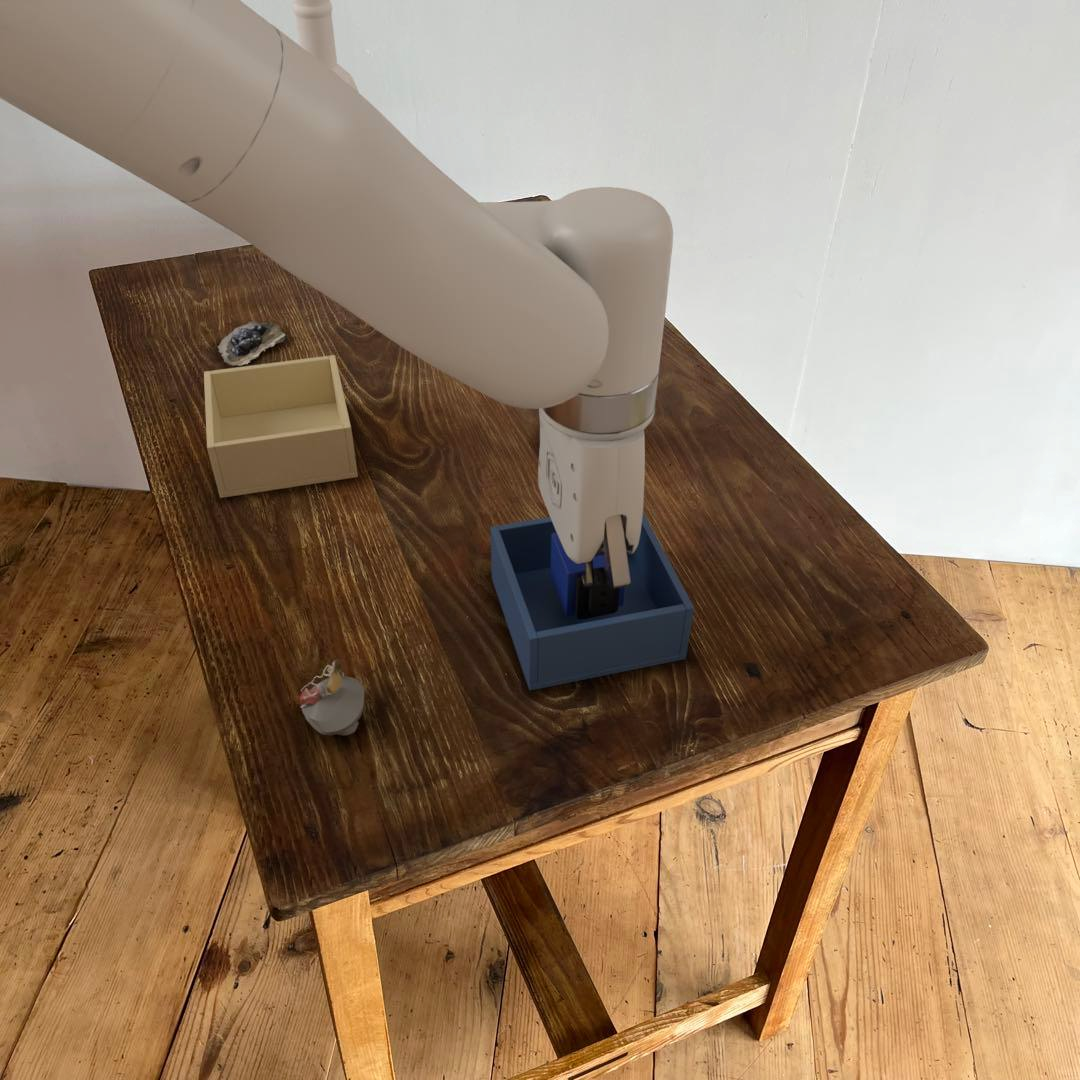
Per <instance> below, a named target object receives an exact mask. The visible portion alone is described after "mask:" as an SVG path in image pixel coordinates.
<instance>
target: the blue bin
mask: <svg viewBox="0 0 1080 1080" xmlns="http://www.w3.org/2000/svg"><path fill="white" fill-rule="evenodd" d="M489 530H490V561H491V563H490V564H491V567H490V568H491V580H492V583H493V586H494V589H495V592H496V596H497V598H498V601H499V604H500V606H501V607H500V608H501V610H502V613H503V615H504V619H505V622H506V625H507V628H508V630H509V634H510V637H511V641H512V643H513V646H514V648H515V649H514V650H515V651H516V655H517V657H518V661H519V664H520V666H521V670H522V673H523V676H524V678H525V681H526V684H527V687H528V688H527V689H528V690H529V691H535V690H540V689H546V688H549V687H550V688H551V687H555V686H560V685H565V684H569V683H574V682H579V681H585V680H588V679H595V678H599V677H604V676H610V675H613V674H619V673H625V672H628V671H629V672H630V671H635V670H638V669H644V668H648V667H654V666H660V665H664V664H669V663H673V662H678V661H683V660H686V659H687V653H688V648H689V642H690V635H691V628H692V623H693V618H694V617H693V616H694V610H695V606H694V604H693V603H692V601H691V599H690V597H689V596H688V593H687V591H686V590H685V587H684V586H683V584H682V582H681V580H680V579H679V577H678V574H677V573H676V571H675V568H674V567H673V565H672V564H671V561H670V559H669V557H668V556H667V554H666V552H665V550H664V548H663V546H662V544H661V543H660V541H659V539H658V536H657V535H656V532H655V531H654V529H653V527H652V526H651V524H650V522H649V520H648V518H647V516H646V514H645V512H644V511H643V516H642V526H641V533H640V539H639V543H638V546H637V548H636V550H635V551H634V553H633V554H629V553H628V552H627V559H628V566H629V574H630V586H626V587H625V591H624V602H623V606H620V607H618V610H617V612H615V613H613V614H608V615H602V616H597V617H592V618H586V619H578V618H577V616H576V615H572V616H566V615H565V612H564V610H563V607H562V605H561V602H560V599H559V597H558V594H557V592H556V589H555V587H554V584H553V582H552V579H551V577H550V570H551V535H552V533H557V532H556V530H555V527H554V525H553V523H552V520H551V518H550V516H548V517H542V518H541V517H540V518H535V519H530V520H523V521H519V522H512V523H511V522H510V523H506V524H500V525H494V526H490V529H489Z"/></svg>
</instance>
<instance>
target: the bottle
mask: <svg viewBox="0 0 1080 1080" xmlns="http://www.w3.org/2000/svg"><path fill="white" fill-rule="evenodd" d="M292 10H293V13H294V15H295V21H296V28H297V35H298V42H299V44H298V45H299V46H301V47H302V48H303V49H305V50H306V51H307V52H309V53H310V54H311V55H313V56H314V57H315V58H317V59H318V60H320V61H321V62H322V63H323V64H325V65H326V66H327V67H329V68H330V69H331V70H332V71H334V72H335V73H336V74H337V75H338V76H339V77H341V78H342V79H343V80H344V81H345V82H346V83H348V84H349V85H350V86H351V87H352V88H353V89H354V90H356V91H357V92H358V93H359V94H360V92H359V89H358V86H357V85H356V82H355V80H354V78H353V76H352V75H351V73H349V72H348V71H347V70H346V69H345V68H343V67H342V66H341V65H340V64H339V63H338V58H337V57H338V56H337V49H336V42H335V41H336V40H335V32H334V23H333V15H332V12H333V4H332V2H331V1H330V0H293V5H292Z"/></svg>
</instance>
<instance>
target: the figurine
mask: <svg viewBox="0 0 1080 1080" xmlns="http://www.w3.org/2000/svg"><path fill="white" fill-rule="evenodd" d="M341 663H342V664H343V662H342V661H341V660H340V659H338V658H337V659H333V662H332V664H331V665H330V664H327V665H325V667H324V669H323V672H322V674H321V676H319V675H315V676H314V677H313V679H312V680H311V681H310V682H308V683H307V684H306V685H304V686H303V687H302V688H301V690H300V692H301V694H300V696H299V703H300V704H301V706H300V708H301V711H302V714H303V716H304V718H305V720H306V721H307V723H309V725H310V726H311V727H312V728H313V729H314V730H316V731H317V732H318V733H319V734H320V735H323V736H336V735H338V736H349V735H352V734H353V733H355V732H356V731H357V729H358V727H359V724H360V722H359V720H360V718H361V717H362V714H363V712H364V704H365V690H364V687H363V685H362V683H361V682H359V680H358V679H356V678H355V677H352V676H347V675H345V674H344V672H342V671H343V666H342V664H341ZM326 671H327V672H328V673H326ZM323 677H328V678H325V679H323V680H321V681H319V682H318V683H315V679H316V678H319V679H321V678H323ZM309 685H313V686H312V688H311V689H308V686H309Z"/></svg>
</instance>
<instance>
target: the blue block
mask: <svg viewBox="0 0 1080 1080" xmlns="http://www.w3.org/2000/svg"><path fill="white" fill-rule="evenodd" d="M605 566H606V560H605V555H599V556H594V558H593V569H594V568H599V567H605ZM580 576H582V571H581V564H577V563H575V562H574V561H572V560H571V559H570V558H569V557H568V556H567V554H566V552H565V550H564V548H563V546H562V543H561V541H560V539H559V537H558V534H557V533H552V535H551V570H550V577H551V579H552V582H553V584H554V587H555V589H556V592H557V594H558V597H559V599H560V602H561V605H562V607H563V610H564V612H565V615H566V616H572V615H576V614H575V601H576V582H577V577H580ZM624 591H625V587H620V593H619V604H618V607H620V606H623V602H624Z"/></svg>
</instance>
